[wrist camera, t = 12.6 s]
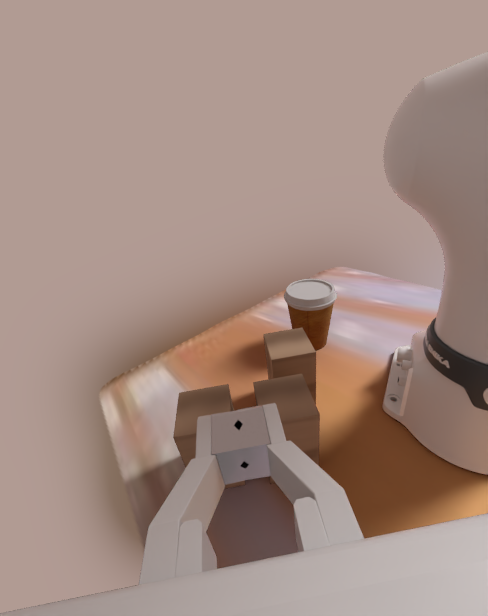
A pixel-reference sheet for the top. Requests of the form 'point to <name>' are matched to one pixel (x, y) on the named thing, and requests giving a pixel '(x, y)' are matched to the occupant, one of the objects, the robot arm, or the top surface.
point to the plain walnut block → (187, 416)
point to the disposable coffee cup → (311, 308)
